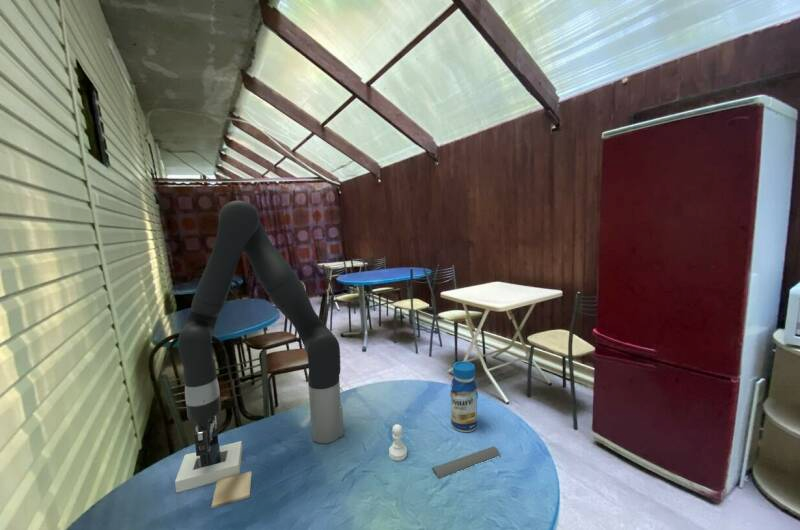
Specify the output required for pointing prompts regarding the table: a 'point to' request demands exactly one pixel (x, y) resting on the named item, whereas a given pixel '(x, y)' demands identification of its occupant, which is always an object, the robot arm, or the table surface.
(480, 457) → the gray half cylinder
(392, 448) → the chess pawn
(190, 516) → the table surface
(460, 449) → the table surface
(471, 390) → the beverage bottle
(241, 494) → the tan rectangular block
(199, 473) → the white cutout frame
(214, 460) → the vaping device
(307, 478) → the table surface
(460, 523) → the table surface
